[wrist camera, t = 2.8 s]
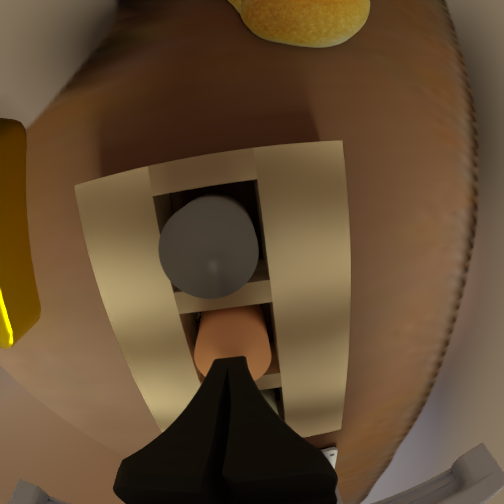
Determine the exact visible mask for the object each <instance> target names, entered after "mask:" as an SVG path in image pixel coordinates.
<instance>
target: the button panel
mask: <svg viewBox="0 0 504 504" xmlns="http://www.w3.org/2000/svg"><path fill="white" fill-rule="evenodd" d="M246 180H253V181H254V188H255V196H256V203H257V211H258V218H259V226H260V234H261V242H262V250H263V257H264V259H258V262H257V266H256V268H255V271H254V273H253V275H252V276H251V278H250V279H249V281H248V282H247V283H246V284H245V285H244V286H243V287H242V288H240V289H239V290H238V291H236V292H235V293H233V294H230V295H228V296H225V297H222V298H217V299H203V298H198V297H194V296H191V295H189V294H187V293H185V292H183V291H181V290H180V289H179V288H177V287H176V286H175V285H174V284H173V283H172V282H171V281H170V280H169V279H168V277H167V276H166V274H165V272H164V271H163V268H162V266H161V263H160V259H159V252H158V246H159V239H160V235H161V232H162V230H163V228H164V226H165V224H166V223H167V221H168V220H169V219H170V218H171V217H172V216H173V212H172V207H171V201H170V195H169V193H172V192H178V191H183V190H189V189H195V188H200V187H206V186H213V185H219V184H226V183H232V182H239V181H246ZM74 187H75V193H76V199H77V204H78V209H79V214H80V219H81V224H82V228H83V233H84V237H85V241H86V245H87V249H88V253H89V257H90V260H91V264H92V267H93V271H94V274H95V278H96V281H97V284H98V287H99V291H100V294H101V297H102V300H103V303H104V306H105V308H106V311H107V314H108V317H109V320H110V322H111V325H112V328H113V330H114V333H115V335H116V338H117V340H118V343H119V345H120V348H121V350H122V353H123V355H124V357H125V360H126V362H127V364H128V366H129V369H130V371H131V373H132V375H133V377H134V379H135V381H136V384H137V386H138V388H139V390H140V392H141V394H142V396H143V398H144V400H145V402H146V404H147V405H148V407H149V409H150V411H151V413H152V415H153V417H154V419H155V420H156V422H157V424H158V426H159V427H160V429H161V431H162V433H163V432H164V431H165V430H166V429H167V428H168V427H169V426H170V425H171V424H172V423H173V422H174V421H175V420H176V419H177V417H178V416H179V415H180V414H181V413H182V412H183V410H184V409H185V408H186V407H187V405H188V404H189V402H190V401H191V400H192V398H193V397H194V395H195V394H196V392H197V391H198V389H199V387H200V386H201V384H202V382H203V381H204V379H205V376H204V375H203V374H202V373H201V372H200V371H199V369H198V368H197V366H196V363H195V360H194V351H195V346H196V341H197V336H198V331H199V330H198V326H197V322H196V319H195V315H194V312H200V311H209V310H217V309H225V308H232V307H240V306H247V305H254V304H261V303H268V302H269V306H270V314H271V322H272V331H273V339H274V342H271V343H269V345H270V350H271V363H270V366H269V368H268V369H267V371H266V372H265V373H264V374H263V375H262V376H261V377H260V378H258V379H257V380H255V383H256V385H257V387H258V389H259V390H264V389H271V388H278V387H279V391H280V400H279V401H276V404H277V410H278V415H279V417H280V418H281V419H282V420H283V421H284V422H285V423H286V424H287V425H289V426H290V427H291V428H292V429H293V430H294V431H295V432H296V433H297V434H299V435H300V436H301V437H302V438H304V437H309V436H314V435H319V434H323V433H328V432H332V431H336V430H340V429H341V424H342V416H343V408H344V399H345V390H346V379H347V367H348V354H349V336H350V309H351V254H350V227H349V209H348V194H347V182H346V172H345V162H344V153H343V144H342V141H322V142H306V143H294V144H283V145H273V146H264V147H255V148H247V149H240V150H232V151H226V152H219V153H213V154H207V155H201V156H195V157H190V158H184V159H179V160H174V161H169V162H164V163H159V164H155V165H150V166H146V167H142V168H137V169H133V170H129V171H125V172H121V173H117V174H113V175H110V176H106V177H102V178H99V179H95V180H92V181H88V182H85V183H81V184H78V185H75V186H74Z"/></svg>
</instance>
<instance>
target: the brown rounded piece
mask: <svg viewBox="0 0 504 504" xmlns="http://www.w3.org/2000/svg"><path fill="white" fill-rule="evenodd" d="M237 356H245V357H246V359H247V364H248V368H249V371H250V373H251V376H252V378H253V380H254V381H255V380H257V379H258V378H260V377H261V376H262V375H263V374H264V373H265V372H266V371H267V369H268V368H269V366H270V363H271V350H270V345H269V339H268V334H267V329H266V324H265V318H264V314H263V311H262V309H261V307H260V306H259V304H254V305H247V306H240V307H232V308H225V309H217V310H209V311H203V312H202V316H201V321H200V326H199V331H198V336H197V341H196V346H195V351H194V360H195V363H196V366H197V368H198V369H199V371H200V372H201V373H202V374H203V375H204V376H205V377H206V375H207V373H208V371H209V369H210V367H211V365H212V363H213V361H214V360H215V359H219V358H228V357H237Z"/></svg>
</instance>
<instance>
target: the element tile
mask: <svg viewBox="0 0 504 504" xmlns="http://www.w3.org/2000/svg"><path fill="white" fill-rule="evenodd" d="M25 130H26V129H25V127H24V126H23V125H22V123H21V122H19V121H17V120H13V119H5V118H0V348H4V349H7V348H11V347H13V346H14V345H15V343H16V342H17V341H18V340H19V339H20V338H21V337H22V336H24V335H25V334H26V333H27V332H28V331H29V330H30V329H31V328H32V327H33V326H34V325H35V324H36V323H37V322H38V320H39V318H40V313H41V306H40V301H39V296H38V291H37V287H36V281H35V276H34V270H33V264H32V258H31V251H30V243H29V234H28V223H27V208H26V149H27V143H26V134H25Z"/></svg>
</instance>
